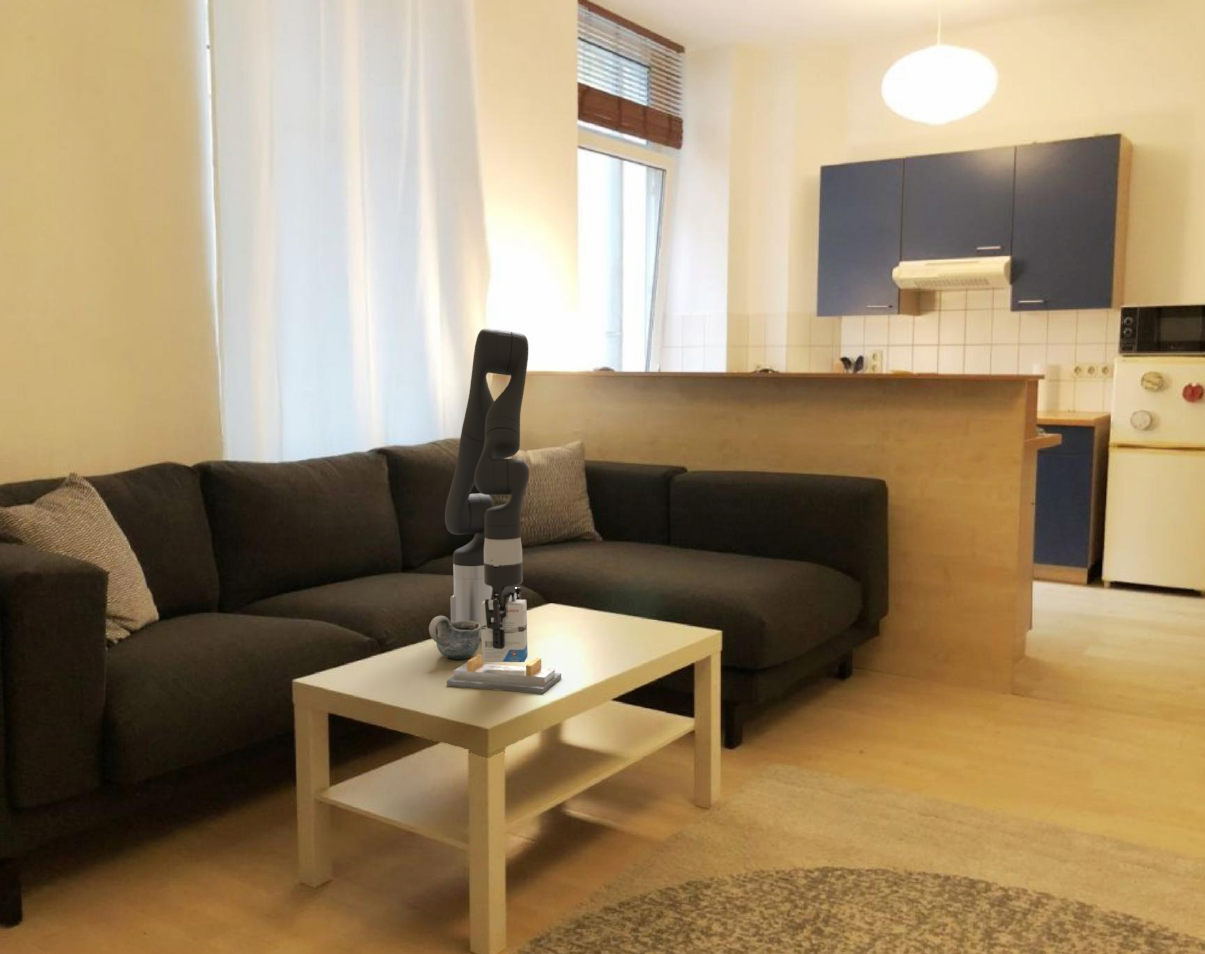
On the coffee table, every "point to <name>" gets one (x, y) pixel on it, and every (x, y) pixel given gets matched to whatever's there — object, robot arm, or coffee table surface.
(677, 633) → the coffee table surface
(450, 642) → the mug
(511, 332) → the robot arm
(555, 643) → the coffee table surface
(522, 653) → the ink box
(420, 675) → the coffee table surface
